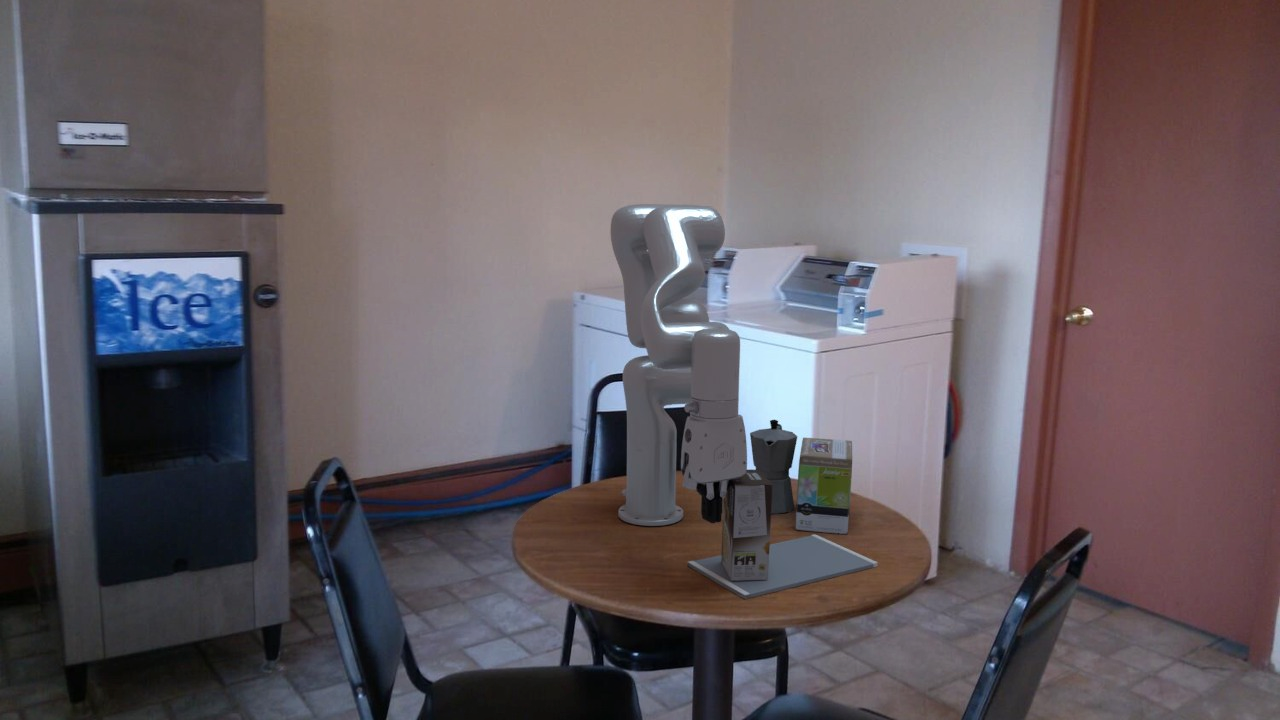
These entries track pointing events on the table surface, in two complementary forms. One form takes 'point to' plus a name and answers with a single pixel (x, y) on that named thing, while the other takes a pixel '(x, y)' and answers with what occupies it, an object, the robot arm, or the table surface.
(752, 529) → the coffee box
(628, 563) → the table surface
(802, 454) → the tea box
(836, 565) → the mat
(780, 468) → the coffeepot
